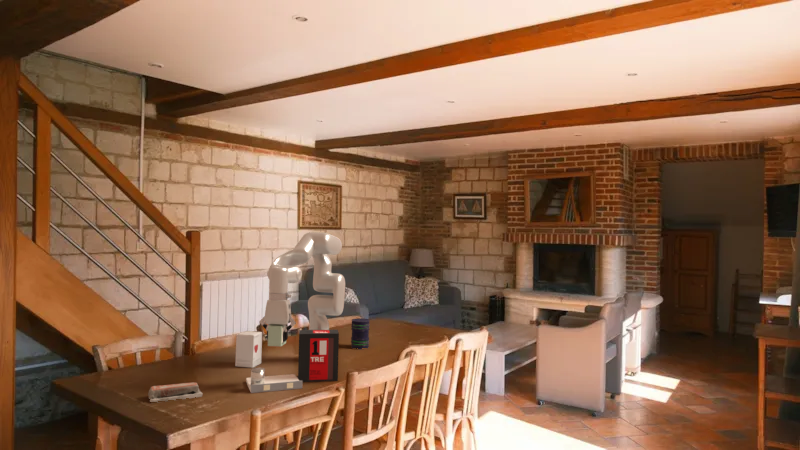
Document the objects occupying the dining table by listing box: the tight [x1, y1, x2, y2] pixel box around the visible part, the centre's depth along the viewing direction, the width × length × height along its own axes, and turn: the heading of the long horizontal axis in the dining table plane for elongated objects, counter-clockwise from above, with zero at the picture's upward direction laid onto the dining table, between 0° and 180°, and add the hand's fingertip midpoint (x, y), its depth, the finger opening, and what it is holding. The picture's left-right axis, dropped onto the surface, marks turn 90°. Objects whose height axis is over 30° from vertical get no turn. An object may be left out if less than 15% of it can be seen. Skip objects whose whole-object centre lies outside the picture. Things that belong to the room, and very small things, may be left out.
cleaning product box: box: [297, 329, 340, 383], centre depth 227 cm, size 16×9×20 cm, turn 100°
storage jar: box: [350, 317, 370, 350], centre depth 290 cm, size 10×10×15 cm
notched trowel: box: [147, 381, 204, 403], centre depth 200 cm, size 18×5×10 cm
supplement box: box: [234, 330, 263, 369], centre depth 247 cm, size 9×9×15 cm
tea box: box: [267, 325, 287, 347], centre depth 219 cm, size 7×6×8 cm
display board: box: [245, 373, 304, 394], centre depth 217 cm, size 20×17×3 cm
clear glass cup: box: [250, 367, 266, 385], centre depth 210 cm, size 5×5×6 cm
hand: (277, 340), depth 219 cm, fingers closed on tea box, 5 cm apart
